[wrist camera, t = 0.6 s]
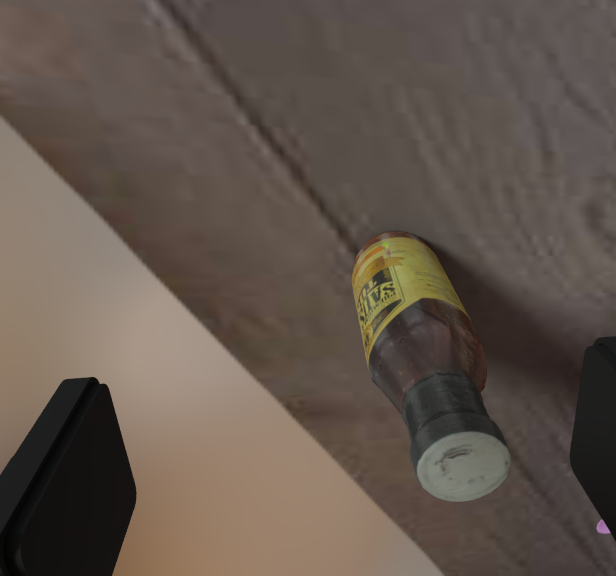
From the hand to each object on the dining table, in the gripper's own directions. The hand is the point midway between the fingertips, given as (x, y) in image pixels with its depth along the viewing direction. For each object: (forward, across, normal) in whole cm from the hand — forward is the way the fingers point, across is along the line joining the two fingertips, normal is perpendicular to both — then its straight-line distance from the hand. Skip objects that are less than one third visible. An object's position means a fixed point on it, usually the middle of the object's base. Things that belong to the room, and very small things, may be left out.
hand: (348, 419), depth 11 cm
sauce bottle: (+29, -5, +10) cm, 31 cm away
